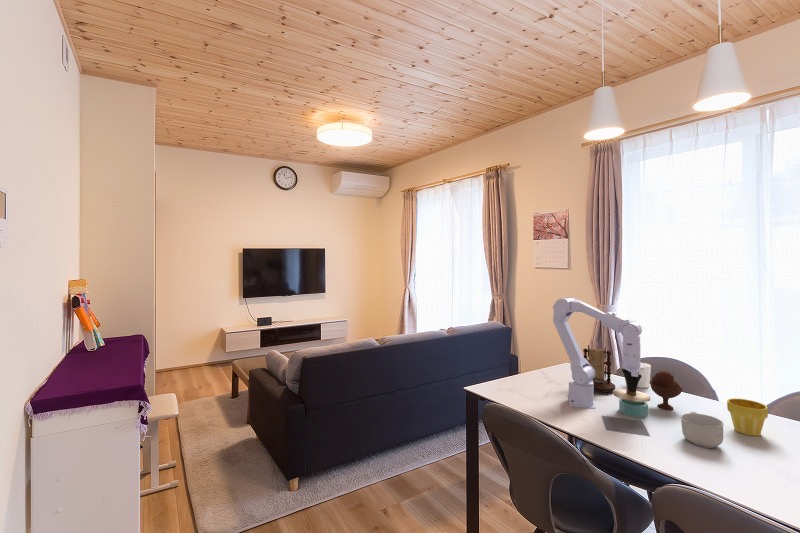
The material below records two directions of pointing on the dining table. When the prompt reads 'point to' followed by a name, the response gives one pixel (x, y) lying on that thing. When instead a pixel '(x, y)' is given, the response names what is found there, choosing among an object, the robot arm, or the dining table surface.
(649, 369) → the white cup
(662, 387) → the ice cream bowl
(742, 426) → the plant pot
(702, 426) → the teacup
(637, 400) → the lid
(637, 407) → the bowl
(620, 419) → the mat
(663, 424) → the dining table surface
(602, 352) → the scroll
